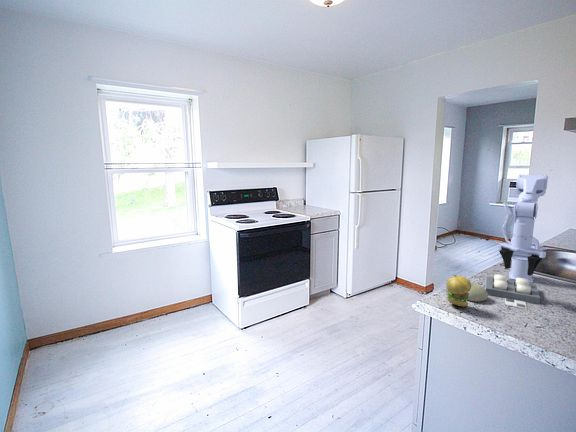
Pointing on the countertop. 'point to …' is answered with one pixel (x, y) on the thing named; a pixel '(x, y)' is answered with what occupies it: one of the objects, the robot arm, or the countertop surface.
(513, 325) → the countertop surface
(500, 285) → the button
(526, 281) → the button
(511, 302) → the tile
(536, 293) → the board
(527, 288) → the button
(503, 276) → the button
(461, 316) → the countertop surface
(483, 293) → the sea urchin shell
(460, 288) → the hamburger
